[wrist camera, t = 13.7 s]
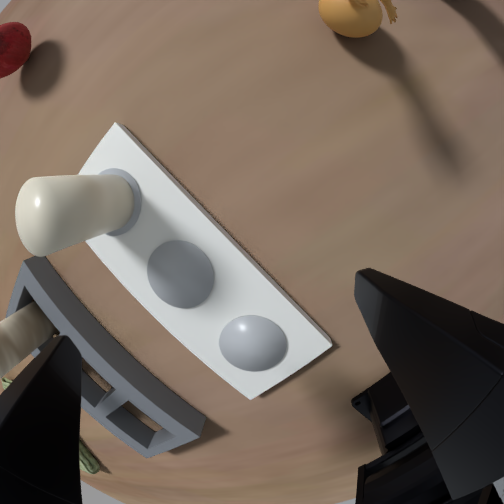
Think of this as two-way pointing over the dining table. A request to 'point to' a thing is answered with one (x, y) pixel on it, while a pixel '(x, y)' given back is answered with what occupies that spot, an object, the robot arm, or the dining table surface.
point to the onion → (13, 47)
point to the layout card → (172, 262)
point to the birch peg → (23, 335)
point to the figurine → (355, 16)
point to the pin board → (107, 368)
